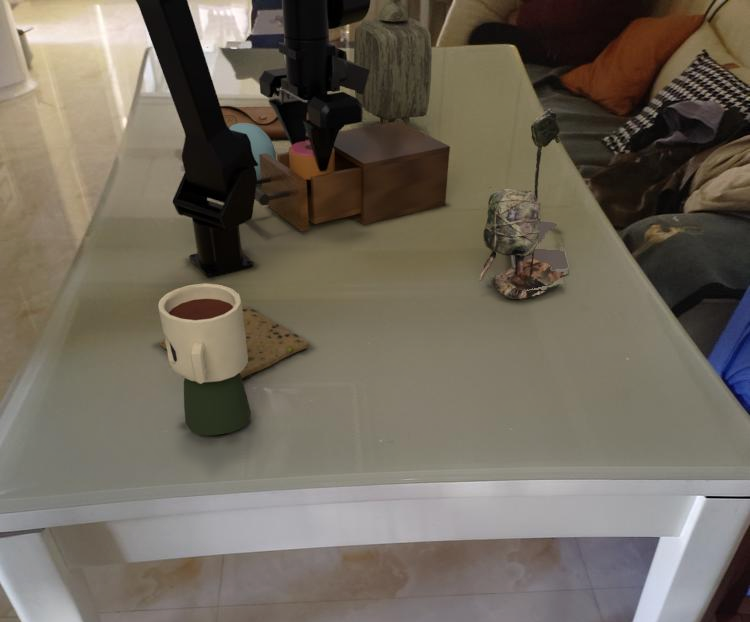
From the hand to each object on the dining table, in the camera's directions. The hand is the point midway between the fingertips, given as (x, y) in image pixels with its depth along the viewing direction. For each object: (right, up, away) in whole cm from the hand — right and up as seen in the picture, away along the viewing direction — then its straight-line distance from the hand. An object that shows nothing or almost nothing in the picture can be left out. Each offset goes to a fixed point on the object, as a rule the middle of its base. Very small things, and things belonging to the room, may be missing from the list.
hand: (311, 162), depth 106 cm
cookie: (-7, -31, -22) cm, 38 cm away
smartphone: (+31, -13, -3) cm, 34 cm away
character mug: (-6, -40, -32) cm, 52 cm away
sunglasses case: (-11, +20, +32) cm, 39 cm away
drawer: (-1, -5, +4) cm, 7 cm away
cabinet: (+10, -1, +10) cm, 14 cm away
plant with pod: (+27, -21, -11) cm, 36 cm away
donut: (0, -1, +1) cm, 1 cm away
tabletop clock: (+12, +20, +33) cm, 40 cm away
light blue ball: (-13, +3, +14) cm, 19 cm away
